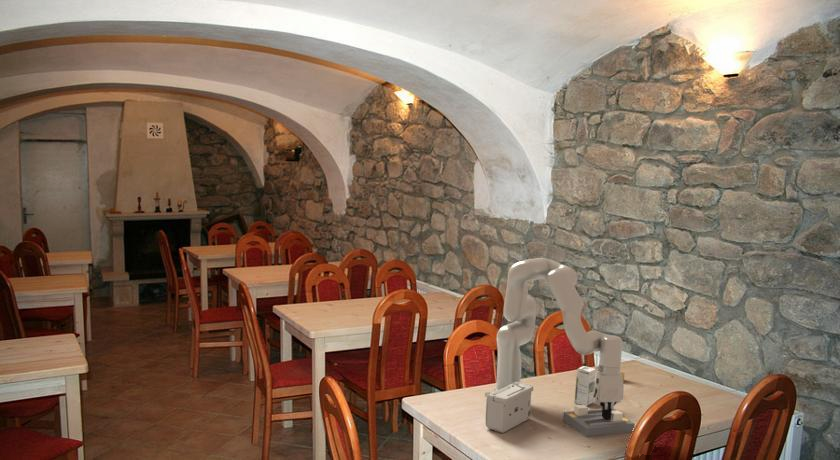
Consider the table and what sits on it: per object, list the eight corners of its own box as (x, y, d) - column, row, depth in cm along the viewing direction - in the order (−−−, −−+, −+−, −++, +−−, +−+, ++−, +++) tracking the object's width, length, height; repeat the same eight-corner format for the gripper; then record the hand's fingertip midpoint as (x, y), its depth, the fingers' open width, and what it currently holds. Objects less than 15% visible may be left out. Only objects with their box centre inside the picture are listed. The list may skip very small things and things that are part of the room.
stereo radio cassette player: (514, 413, 253) (516, 363, 251) (533, 419, 247) (535, 367, 245) (483, 429, 236) (486, 375, 234) (503, 435, 231) (506, 380, 229)
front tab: (613, 422, 239) (613, 414, 238) (608, 419, 242) (608, 411, 241) (622, 421, 240) (622, 413, 240) (617, 418, 243) (618, 410, 243)
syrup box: (580, 399, 271) (582, 365, 269) (593, 403, 267) (596, 368, 266) (574, 403, 266) (576, 368, 265) (587, 406, 263) (590, 371, 261)
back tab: (578, 416, 243) (578, 408, 243) (573, 413, 246) (574, 405, 246) (587, 415, 245) (588, 407, 244) (583, 412, 247) (583, 404, 247)
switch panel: (586, 436, 233) (586, 426, 232) (563, 419, 248) (563, 410, 247) (634, 431, 239) (634, 421, 239) (608, 415, 254) (609, 406, 254)
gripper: (597, 374, 232) (594, 424, 234) (633, 371, 236) (630, 420, 238) (585, 367, 239) (582, 416, 241) (621, 365, 244) (617, 413, 245)
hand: (606, 418), depth 239 cm, fingers closed
